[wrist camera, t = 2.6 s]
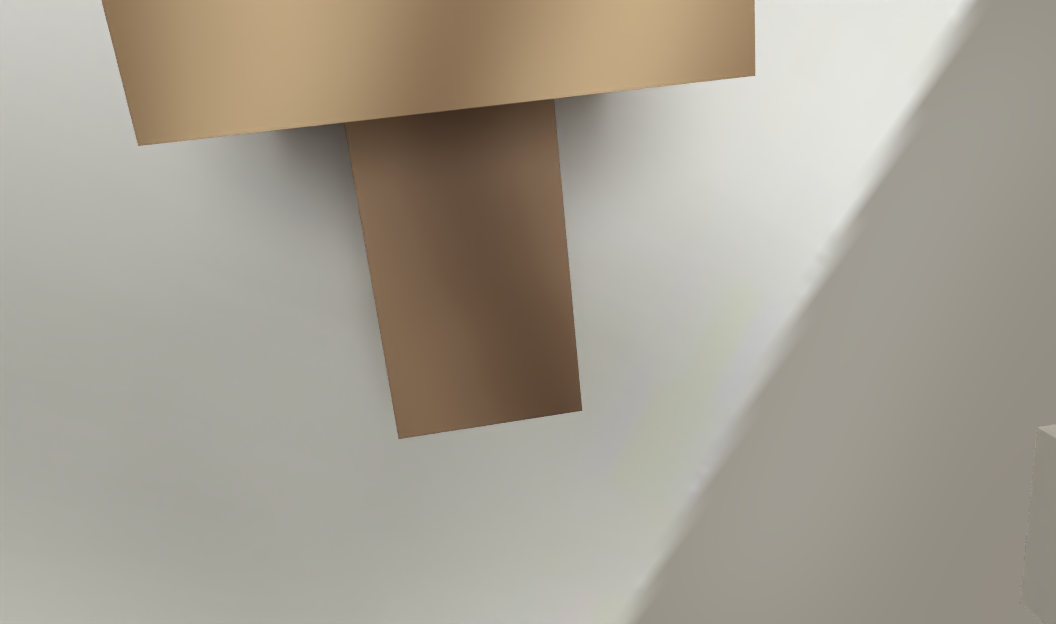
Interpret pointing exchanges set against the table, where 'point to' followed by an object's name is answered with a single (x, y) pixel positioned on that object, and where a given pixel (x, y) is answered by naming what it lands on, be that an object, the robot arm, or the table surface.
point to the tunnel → (403, 56)
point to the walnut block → (468, 264)
